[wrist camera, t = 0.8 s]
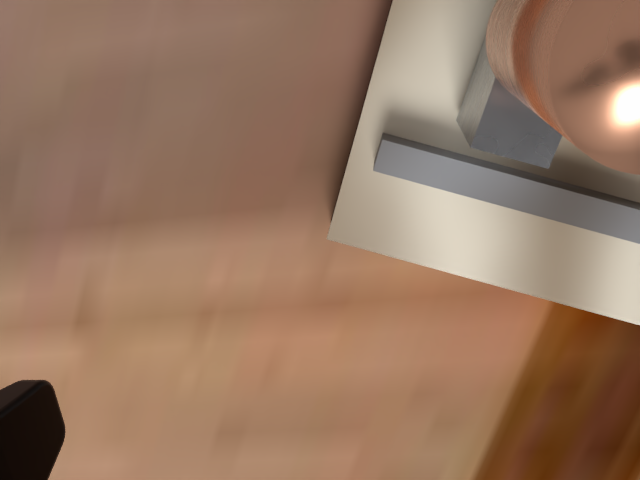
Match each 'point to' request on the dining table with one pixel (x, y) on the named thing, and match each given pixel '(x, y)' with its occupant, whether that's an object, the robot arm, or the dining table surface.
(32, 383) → the robot arm
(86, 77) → the dining table surface
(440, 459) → the dining table surface
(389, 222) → the nutcracker board
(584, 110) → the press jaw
